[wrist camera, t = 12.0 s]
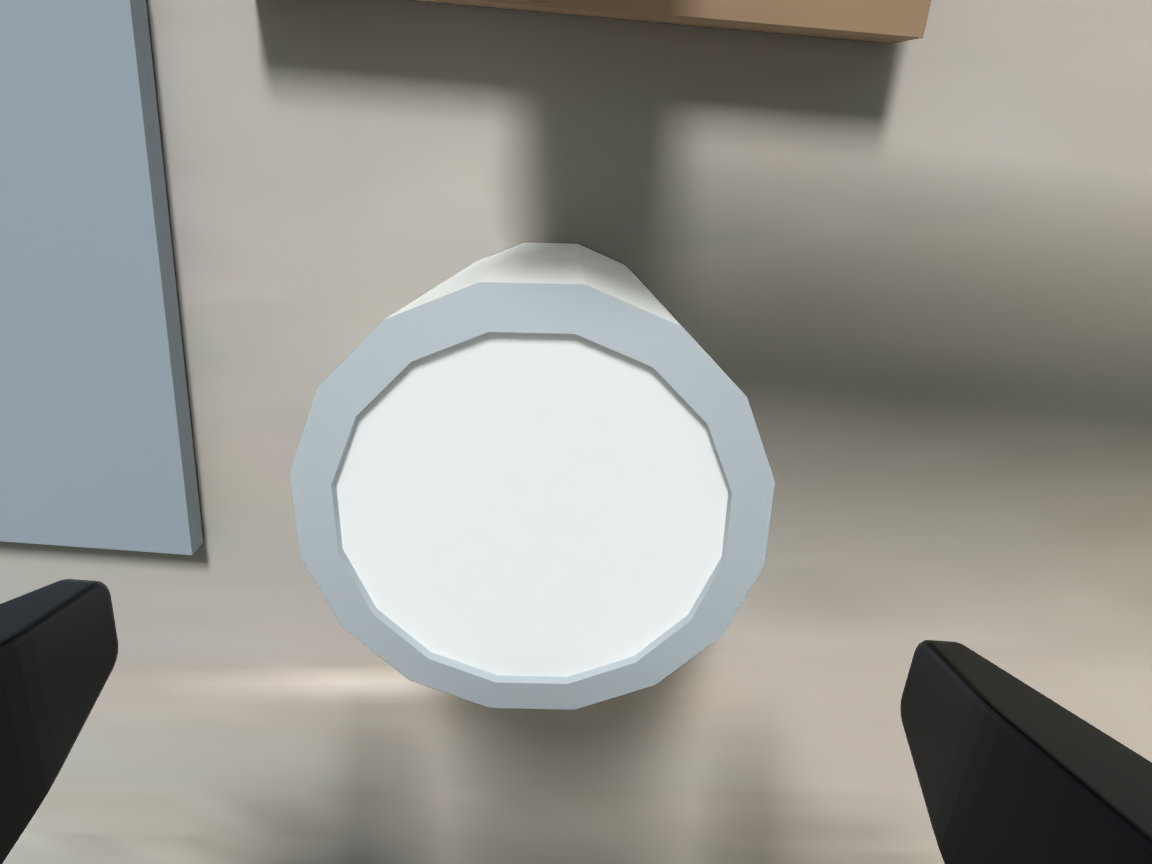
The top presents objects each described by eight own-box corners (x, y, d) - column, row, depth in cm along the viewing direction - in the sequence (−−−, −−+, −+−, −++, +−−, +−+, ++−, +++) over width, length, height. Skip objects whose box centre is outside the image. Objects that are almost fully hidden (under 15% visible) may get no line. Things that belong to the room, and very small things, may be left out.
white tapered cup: (509, 557, 20) (473, 781, 13) (329, 323, 18) (180, 454, 11) (761, 415, 18) (860, 588, 12) (599, 141, 16) (611, 169, 10)
